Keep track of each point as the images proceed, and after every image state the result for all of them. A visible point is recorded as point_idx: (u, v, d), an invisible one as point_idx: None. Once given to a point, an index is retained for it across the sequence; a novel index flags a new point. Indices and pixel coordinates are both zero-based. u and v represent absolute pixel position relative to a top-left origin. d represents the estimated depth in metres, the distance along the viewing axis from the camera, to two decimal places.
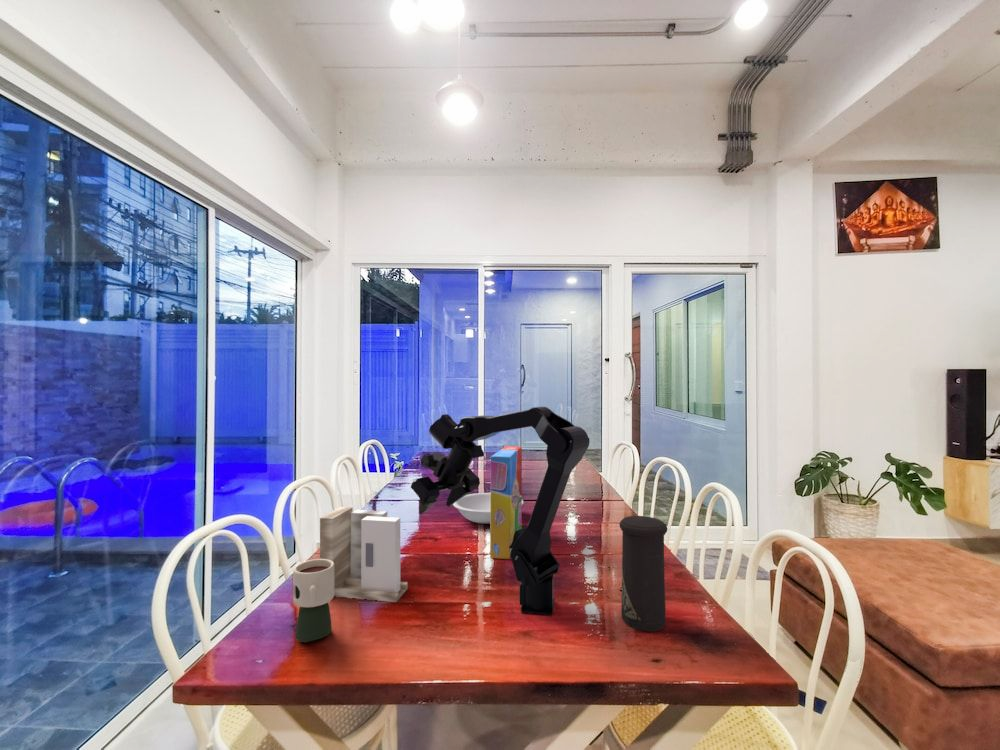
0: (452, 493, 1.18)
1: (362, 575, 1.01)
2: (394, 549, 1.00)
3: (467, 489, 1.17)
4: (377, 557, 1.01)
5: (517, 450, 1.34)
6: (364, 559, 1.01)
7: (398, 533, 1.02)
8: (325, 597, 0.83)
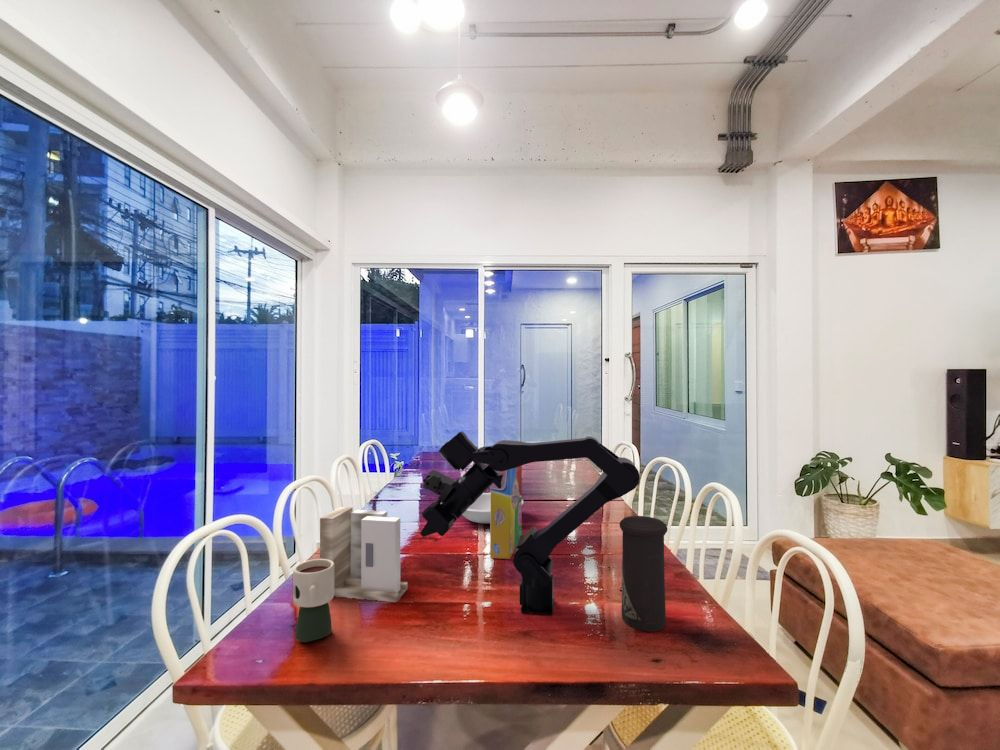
0: None
1: (362, 575, 1.01)
2: (394, 549, 1.00)
3: None
4: (377, 557, 1.01)
5: None
6: (364, 559, 1.01)
7: (398, 533, 1.02)
8: (325, 597, 0.83)
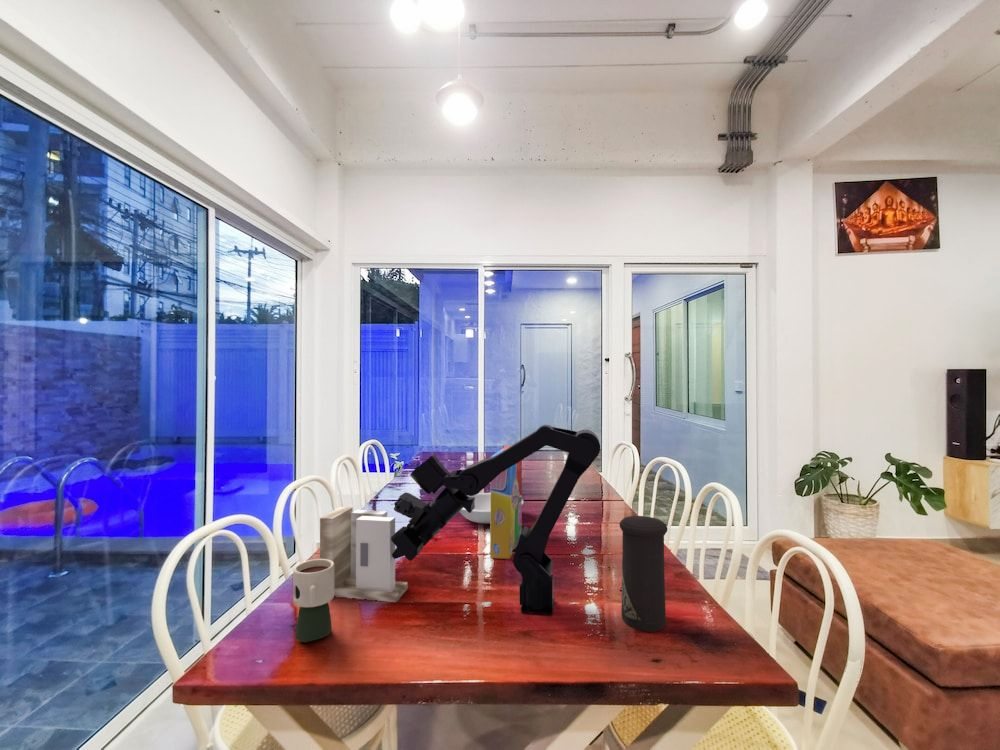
0: None
1: (357, 575, 1.01)
2: (389, 549, 1.00)
3: None
4: (372, 557, 1.01)
5: None
6: (359, 559, 1.01)
7: (393, 533, 1.02)
8: (325, 597, 0.83)
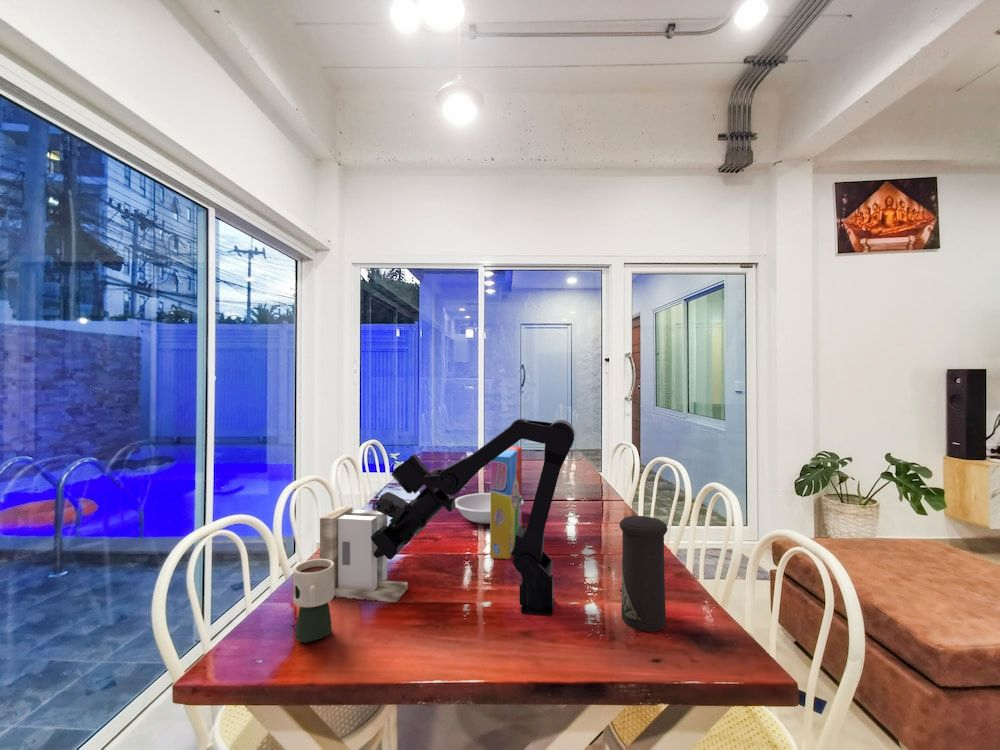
0: None
1: (339, 573, 1.02)
2: (370, 547, 1.01)
3: None
4: (354, 555, 1.02)
5: (517, 450, 1.34)
6: (341, 557, 1.02)
7: None
8: (325, 597, 0.83)
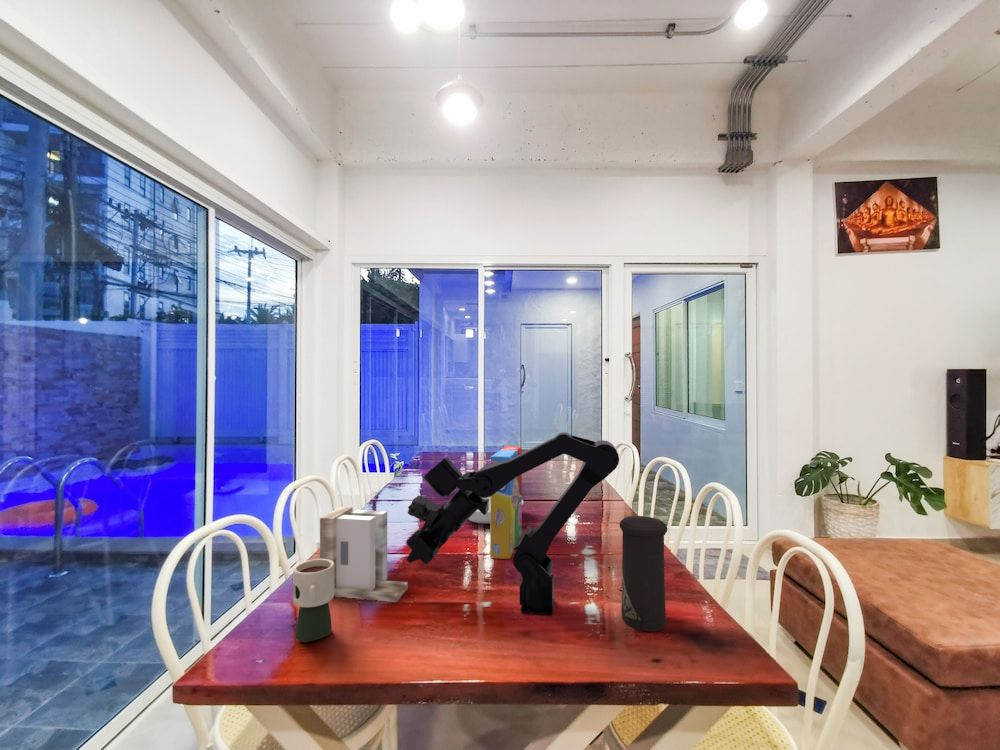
0: None
1: (337, 573, 1.02)
2: (368, 547, 1.01)
3: None
4: (352, 555, 1.02)
5: (517, 450, 1.34)
6: (339, 557, 1.02)
7: (373, 532, 1.03)
8: (325, 597, 0.83)
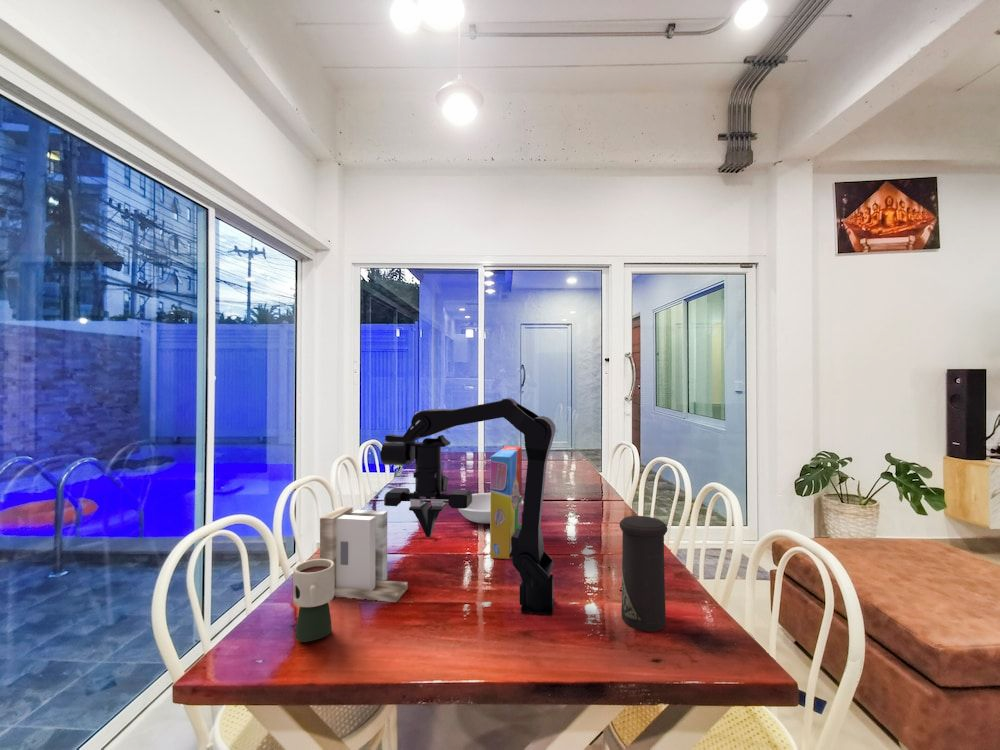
0: None
1: (337, 573, 1.02)
2: (368, 547, 1.01)
3: (433, 508, 0.99)
4: (352, 555, 1.02)
5: (517, 450, 1.34)
6: (339, 557, 1.02)
7: (373, 532, 1.03)
8: (325, 597, 0.83)
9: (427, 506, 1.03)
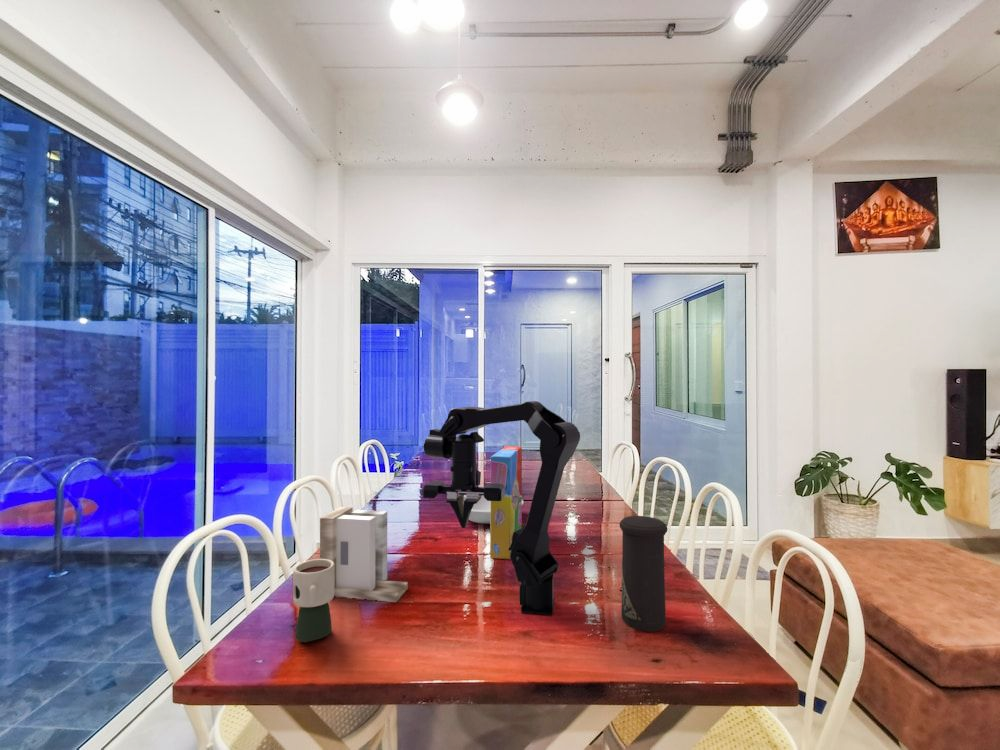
0: None
1: (337, 573, 1.02)
2: (368, 547, 1.01)
3: (468, 500, 1.05)
4: (352, 555, 1.02)
5: (517, 450, 1.34)
6: (339, 557, 1.02)
7: (373, 532, 1.03)
8: (325, 597, 0.83)
9: (462, 499, 1.08)
